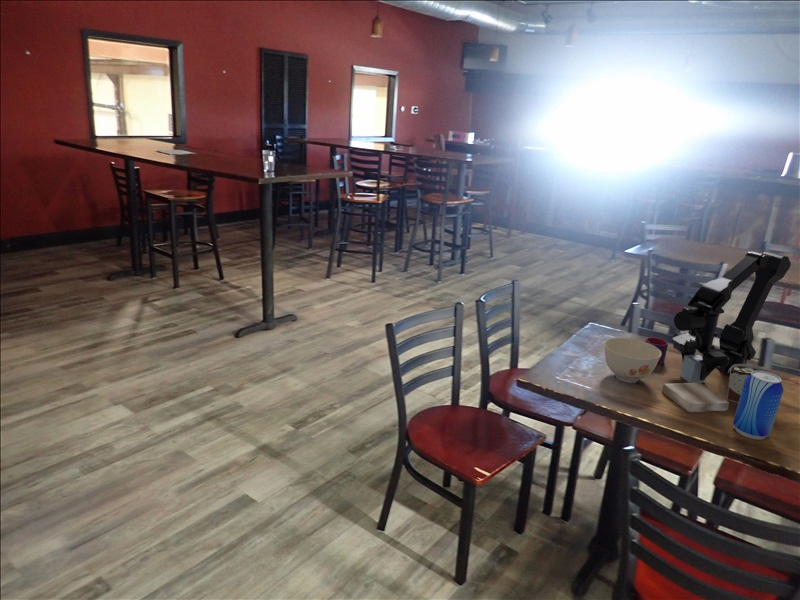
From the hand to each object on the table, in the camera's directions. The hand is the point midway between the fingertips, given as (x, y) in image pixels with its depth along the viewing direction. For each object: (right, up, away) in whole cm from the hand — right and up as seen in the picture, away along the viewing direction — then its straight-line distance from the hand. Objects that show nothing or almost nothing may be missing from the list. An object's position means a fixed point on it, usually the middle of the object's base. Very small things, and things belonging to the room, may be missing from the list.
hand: (693, 374), depth 178 cm
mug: (-6, +3, +14) cm, 15 cm away
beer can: (0, -11, -28) cm, 30 cm away
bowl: (-21, -1, -2) cm, 21 cm away
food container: (+9, -6, -11) cm, 16 cm away
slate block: (0, -2, 0) cm, 2 cm away
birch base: (-7, -6, -13) cm, 16 cm away
